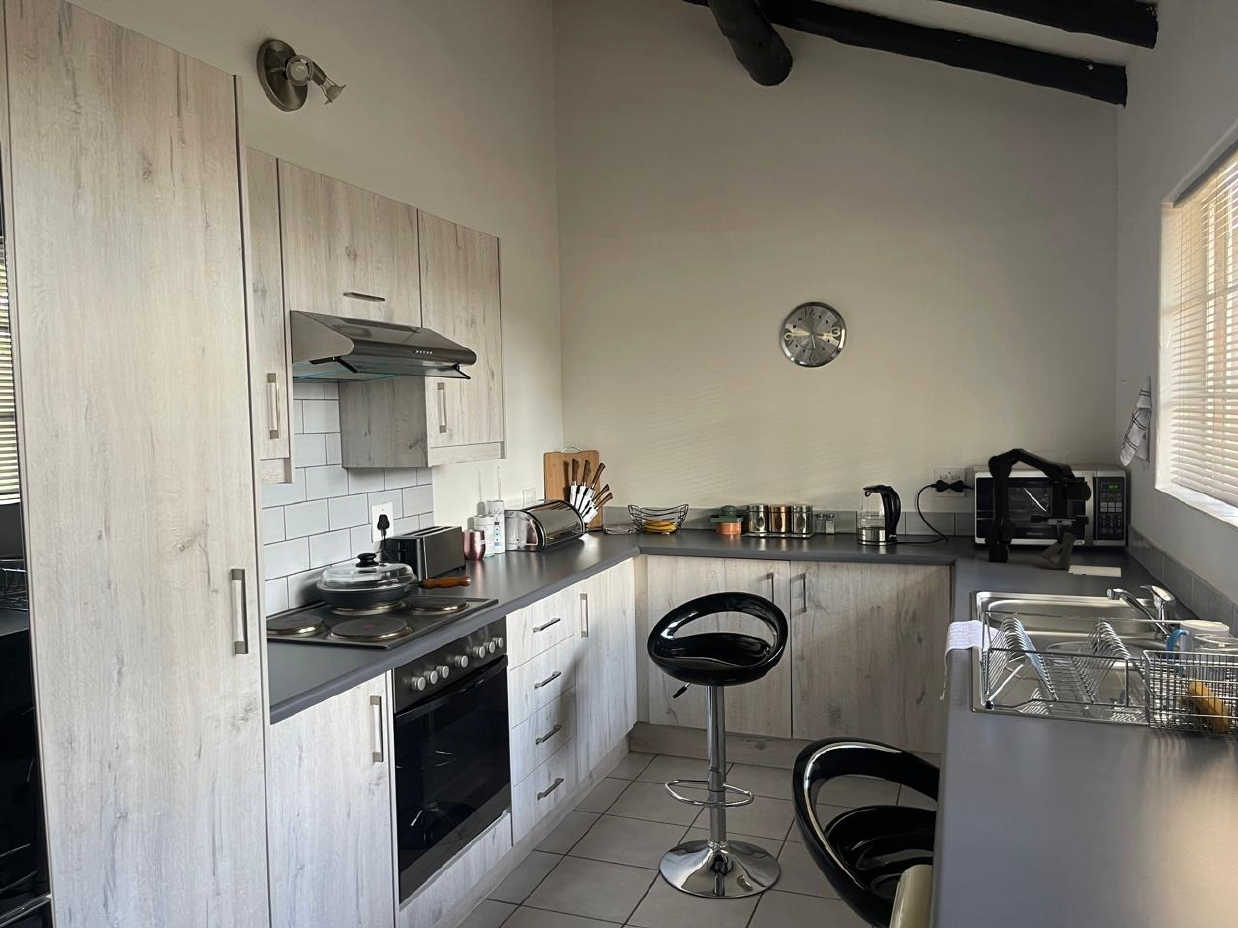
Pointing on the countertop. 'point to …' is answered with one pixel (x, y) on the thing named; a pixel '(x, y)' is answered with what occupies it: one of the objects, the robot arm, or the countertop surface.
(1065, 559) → the phone stand
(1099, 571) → the mat
